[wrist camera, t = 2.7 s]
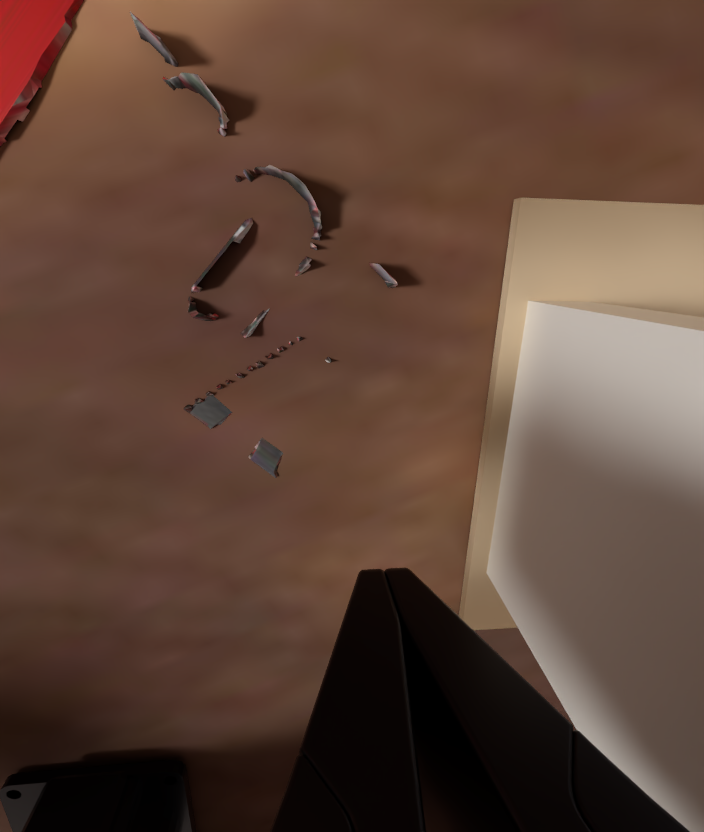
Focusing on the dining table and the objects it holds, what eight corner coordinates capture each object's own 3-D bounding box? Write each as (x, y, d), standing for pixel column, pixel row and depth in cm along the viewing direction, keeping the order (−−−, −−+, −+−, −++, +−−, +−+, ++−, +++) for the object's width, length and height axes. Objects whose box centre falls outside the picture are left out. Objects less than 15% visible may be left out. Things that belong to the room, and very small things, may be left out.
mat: (798, 602, 17) (809, 609, 17) (457, 622, 16) (461, 631, 16) (973, 218, 13) (994, 216, 12) (513, 199, 11) (521, 197, 11)
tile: (539, 570, 15) (841, 970, 7) (486, 572, 15) (724, 986, 6) (594, 301, 12) (1283, 396, 4) (528, 300, 12) (1086, 397, 3)
